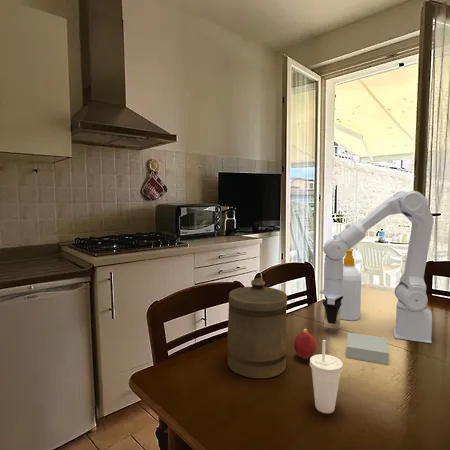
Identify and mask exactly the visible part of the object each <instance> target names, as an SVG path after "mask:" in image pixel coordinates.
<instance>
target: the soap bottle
mask: <svg viewBox="0 0 450 450" xmlns="http://www.w3.org/2000/svg"><path fill="white" fill-rule="evenodd" d="M353 251H354V248H351V249H349V250H346V254H345V256H344V257H343V299H342V300H341V303H342V304H341V311H340V320H344V321H358V320H360V318H361V304H362V302H361V301H362V300H361V299H362V298H361V297H362V276H361V272H360V271H359V269H357V267H356V266H355V258H354V256H353Z"/></svg>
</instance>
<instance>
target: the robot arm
mask: <svg viewBox="0 0 450 450" xmlns="http://www.w3.org/2000/svg"><path fill="white" fill-rule="evenodd" d="M428 203H429V200H428V199H427V198H426V197H425V196H424V195H423V194H422V193H421V192H419V191H417V190H407V191H406V190H404V191H403V190H402V191H401V190H400V191H397V192H396V193H394V194H393V195H392V196H390V197H388V198H387V199H385V200H384V201H383V202H381V204H379V205H378V206H377V207H376V208H375V209H373V210H372V211H371V212H370V213H369V214H367V215H366V216H365V217H364V218H363V219H362V220H361V221H359V222H352V223H350V224H349V223H346V225H344V227H345V228H343V230H341V231H340V232H339V233H338V234H333V235H332V238H331V239H329V240H326V242H325V243H324V245H323V247H322V251H323V252H324V253H323V254H325V255H324V262H323V265H324V266H323V289H320V290H319V294H323V295H324V299H322V300H321V303H322V306H323V308H325V310H326V315H327V321H328V323H332V324H335V322H336V318H337V313H338V310H339V308H340V306H341V304H342V303H341V300H342V299H343V266H344V258H345V256H346V250H349V249H353V247H354V246H356V245H358V243H360V242H362V241H363V239H365V238H366V235H367V231H368V230H370V229H371V228H373V227H374V226H375V225H377V224H378V223H379V222H381V221H383V220H384V219H385V218H387V217H388V216H390V215H399V214H402V215H404V216H405V217H406V219H408V220H409V221H410V223H411V230H410V235H409V240H408V241H409V242H408V247H407V254H406V257H405V258H406V259H405V265H404V271H403V274H402V275H401V277H400V278H399V281H398V284H397V285H396V286H395V288H394V296H395V298H396V299H397V302H396V310H395V311H396V312H395V313H396V315H395V327H393V328H392V331H393V335H394V338H395V339H397V340H398V339H399V340H406V341H413V342H419V343H427V344H432V335H433V334H432V331H433V313H432V310H431V309H428V308H426V306H427V305H428V302H429V301H428V300H429V299H428V296H427V284H426V282H425V279H424V278H425V272H426V271H425V270H426V266H427V261H428V254H429V249H430V245H431V243H430V242H431V237H432V231H433V227H434V221H435V220H434V217H433V214H432V211H431V209H430V206H429V204H428Z"/></svg>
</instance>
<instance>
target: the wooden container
mask: <svg viewBox="0 0 450 450" xmlns="http://www.w3.org/2000/svg"><path fill="white" fill-rule="evenodd" d="M250 284H251V286H243V287H242V286H241V287H237V288H235V289H232V290H231V291H230V292H229V293H228V316H227V317H228V318H227V320H228V322H227V366H228V367H229V369H230V370H231V371H233V372H234V373H235V374H238V375H240V376H243V377H246V378H251V379H268V378H269V379H270V378H272V377H276V376H279V375H280V374H282V373H283V372H285V370H286V368H287V341H288V340H287V337H288V336H287V335H288V334H287V307H288V295H287V294H286V292H284V291H282V290H281V289H278V288H273V287H270V286H269V287H267V286H265V285H266V281H265V280H264V279H262V278H261V277H259V278H258V277H256V278H254V279H252V280H251V282H250Z"/></svg>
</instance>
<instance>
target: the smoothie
mask: <svg viewBox="0 0 450 450" xmlns="http://www.w3.org/2000/svg"><path fill="white" fill-rule="evenodd" d="M321 348H322V350H321V354H320V353H319V354H313V355H312V356H311V357H309V367H310V368H311V375H312V377H311V378H312V386H313V397H314V406H315V408H316V410H317V411H318V412H321V413H323V414H332V413H333V412H335V409H336V408H335V407H336V403H337V397H338V393H339V392H338V391H339V385H340V379H341V373H342V372H343V370H344V363H343V361H342V360H341V359H339V358H338V357H336V356H334V355H330V354H326V340H325V339H322V347H321Z"/></svg>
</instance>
